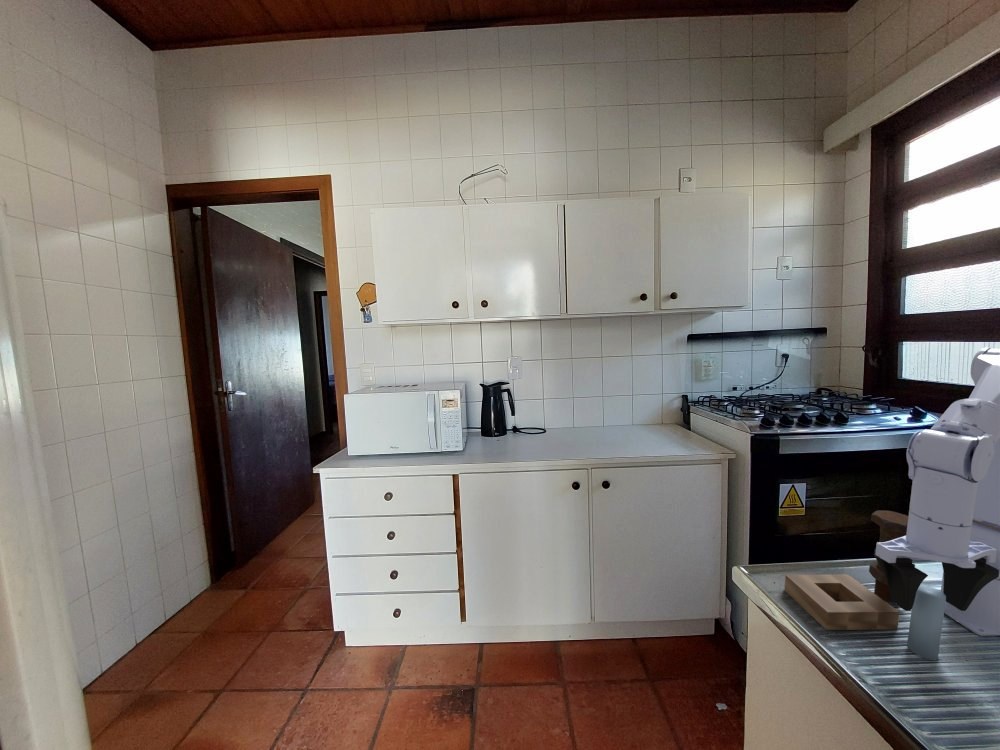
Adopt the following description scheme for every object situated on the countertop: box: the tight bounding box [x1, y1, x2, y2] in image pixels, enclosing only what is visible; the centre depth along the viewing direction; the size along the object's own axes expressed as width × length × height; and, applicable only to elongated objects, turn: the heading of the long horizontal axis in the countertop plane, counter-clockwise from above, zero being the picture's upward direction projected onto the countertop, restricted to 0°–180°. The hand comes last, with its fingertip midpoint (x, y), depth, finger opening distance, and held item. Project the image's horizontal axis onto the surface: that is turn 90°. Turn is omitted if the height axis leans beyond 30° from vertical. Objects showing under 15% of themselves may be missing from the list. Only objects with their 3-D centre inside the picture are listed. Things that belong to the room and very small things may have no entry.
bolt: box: [868, 509, 909, 604], centre depth 65 cm, size 6×5×15 cm
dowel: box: [906, 584, 946, 661], centre depth 54 cm, size 3×3×10 cm
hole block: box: [783, 573, 900, 631], centre depth 63 cm, size 11×9×3 cm
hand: (927, 605), depth 54 cm, fingers open, 7 cm apart
